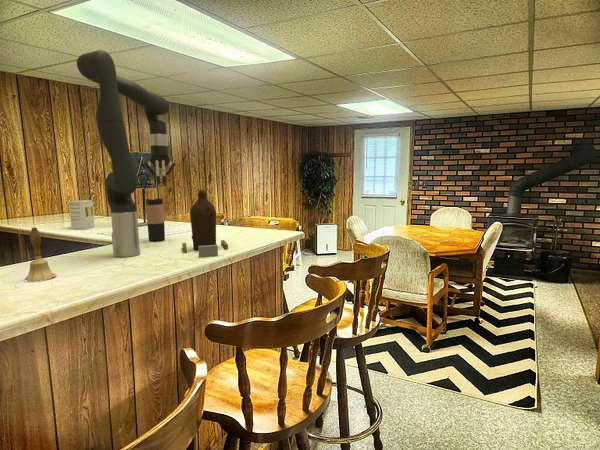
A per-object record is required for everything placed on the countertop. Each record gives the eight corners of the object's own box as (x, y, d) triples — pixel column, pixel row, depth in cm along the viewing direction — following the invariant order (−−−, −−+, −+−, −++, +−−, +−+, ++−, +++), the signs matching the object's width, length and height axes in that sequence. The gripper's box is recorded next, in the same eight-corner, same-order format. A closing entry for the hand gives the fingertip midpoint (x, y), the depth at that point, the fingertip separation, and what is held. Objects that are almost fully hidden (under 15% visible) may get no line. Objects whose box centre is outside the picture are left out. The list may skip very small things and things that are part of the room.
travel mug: (159, 242, 176) (156, 199, 173) (145, 242, 178) (142, 199, 175) (168, 239, 183) (165, 198, 181) (154, 239, 185) (151, 198, 182)
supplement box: (86, 229, 223) (83, 201, 220) (70, 229, 223) (68, 201, 221) (95, 227, 232) (92, 200, 230) (80, 227, 232) (77, 200, 230)
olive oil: (222, 247, 162) (220, 188, 159) (208, 251, 153) (204, 190, 149) (202, 245, 166) (199, 188, 163) (186, 250, 157) (183, 190, 153)
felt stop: (199, 257, 143) (198, 247, 142) (198, 256, 145) (198, 246, 144) (217, 255, 145) (217, 245, 144) (217, 254, 147) (216, 244, 146)
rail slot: (183, 253, 151) (182, 248, 151) (182, 247, 162) (182, 243, 162) (228, 249, 157) (228, 244, 157) (224, 244, 168) (224, 240, 168)
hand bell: (20, 283, 111) (14, 230, 109) (28, 276, 119) (22, 226, 117) (53, 280, 115) (48, 228, 113) (58, 273, 122) (53, 225, 120)
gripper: (141, 144, 161) (144, 185, 163) (175, 144, 165) (177, 184, 167) (143, 145, 168) (145, 184, 170) (175, 145, 172) (177, 184, 174)
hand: (161, 184), depth 169 cm, fingers closed
